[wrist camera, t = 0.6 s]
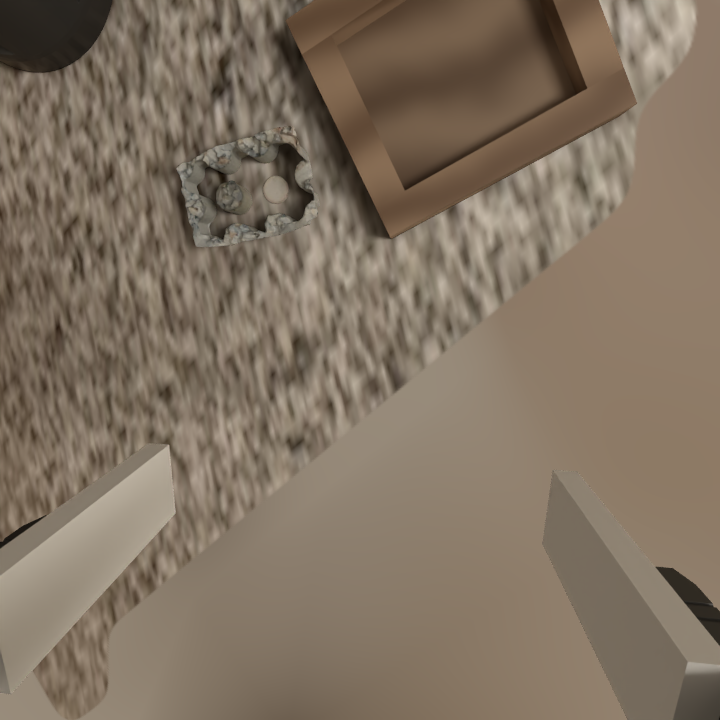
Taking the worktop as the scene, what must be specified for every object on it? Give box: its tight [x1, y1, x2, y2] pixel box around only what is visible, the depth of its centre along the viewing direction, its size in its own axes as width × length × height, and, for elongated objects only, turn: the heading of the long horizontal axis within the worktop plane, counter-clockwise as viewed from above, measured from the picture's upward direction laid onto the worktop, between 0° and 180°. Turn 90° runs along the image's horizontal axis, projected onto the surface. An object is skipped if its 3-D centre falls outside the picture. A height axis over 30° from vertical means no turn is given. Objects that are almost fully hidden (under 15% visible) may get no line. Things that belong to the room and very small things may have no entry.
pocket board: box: [285, 0, 637, 239], centre depth 30 cm, size 17×19×2 cm
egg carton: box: [177, 126, 320, 247], centre depth 34 cm, size 11×8×4 cm
